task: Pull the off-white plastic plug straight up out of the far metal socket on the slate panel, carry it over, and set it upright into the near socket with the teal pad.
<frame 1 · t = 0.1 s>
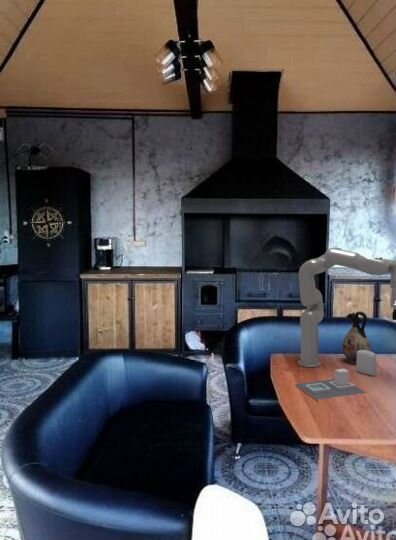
plug: (341, 386, 208), point 1 cm above the table, touching dock board
photo printer: (365, 373, 230), on the table
ceramic jug: (357, 362, 249), on the table
dock board: (329, 390, 206), on the table
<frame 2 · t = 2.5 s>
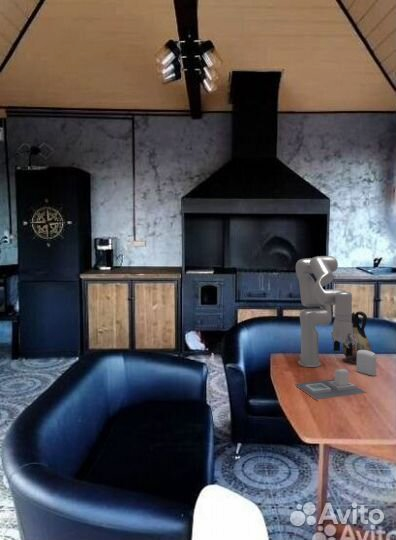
hand: (342, 353, 206), 18 cm above the table, tool pointing down, fingers open, 9 cm apart
nothing on the table moved.
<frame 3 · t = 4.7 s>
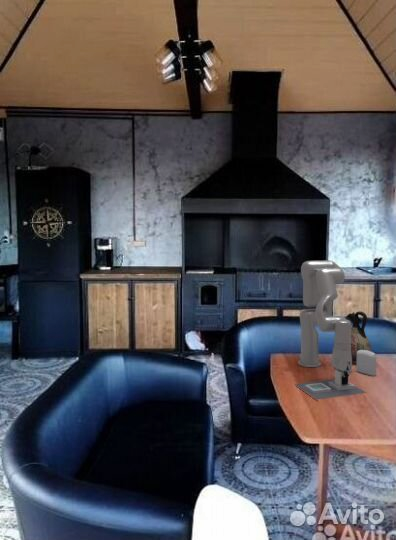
hand: (341, 382, 208), 3 cm above the table, tool pointing down, fingers closed on plug, 4 cm apart
plug: (341, 386, 208), point 1 cm above the table, touching dock board, gripper
everything else where it was.
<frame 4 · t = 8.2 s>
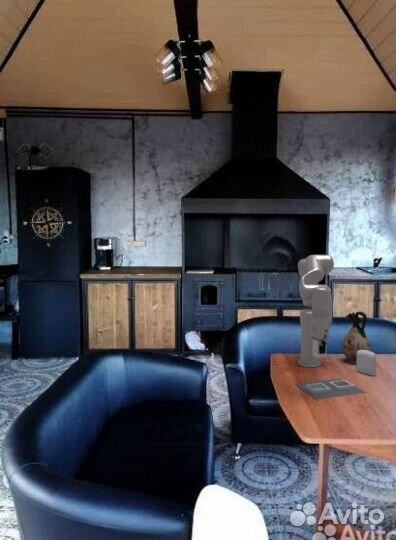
hand: (319, 351, 203), 19 cm above the table, tool pointing down, fingers closed on plug, 4 cm apart
plug: (319, 356, 203), point 17 cm above the table, touching gripper
everything else where it was.
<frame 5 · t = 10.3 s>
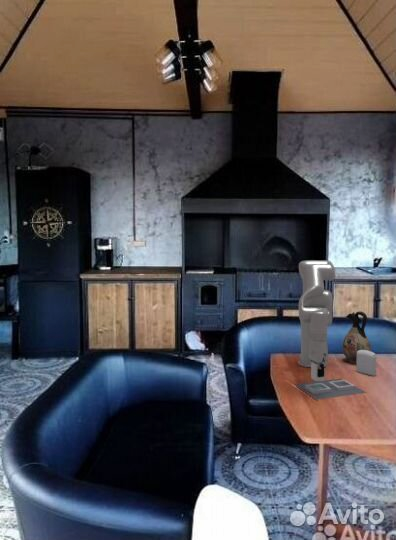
hand: (318, 374, 204), 8 cm above the table, tool pointing down, fingers closed on plug, 4 cm apart
plug: (318, 379, 204), point 6 cm above the table, touching gripper
everything else where it was.
when the fingers open (4 cm above the table, at t = 11.9 s): plug stays where it is, resting on dock board.
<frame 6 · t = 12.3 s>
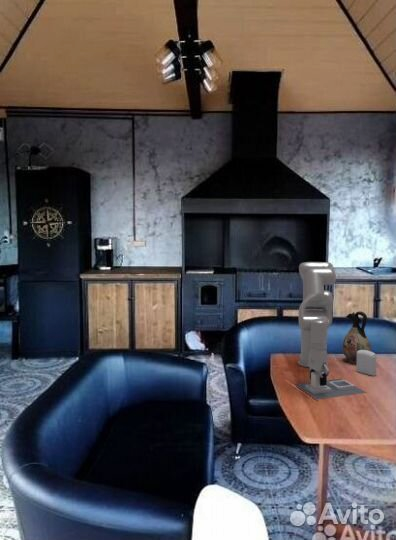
hand: (317, 382, 204), 5 cm above the table, tool pointing down, fingers open, 8 cm apart
plug: (317, 389, 204), point 1 cm above the table, touching dock board
everything else where it was.
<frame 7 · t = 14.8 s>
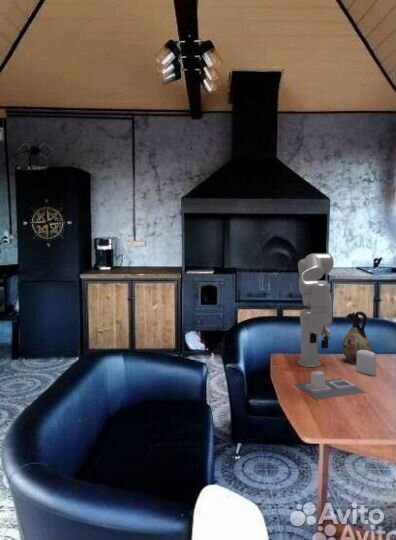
hand: (318, 345, 203), 22 cm above the table, tool pointing down, fingers open, 9 cm apart
nothing on the table moved.
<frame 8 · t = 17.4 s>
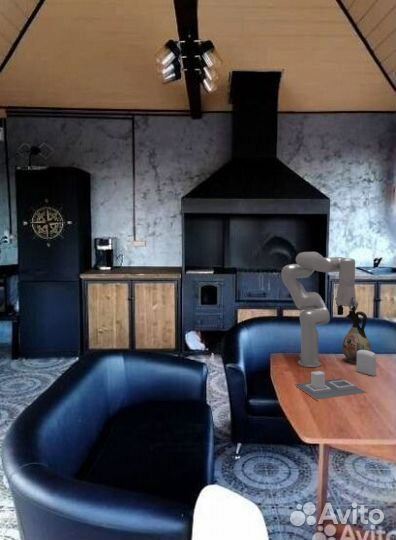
hand: (346, 316, 218), 32 cm above the table, tool pointing down, fingers open, 9 cm apart
nothing on the table moved.
at the end: plug 0.0 cm from the target spot on the dock board, point 1.2 cm above the dock board's base; plug tilted 0°; the gripper is holding nothing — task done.
